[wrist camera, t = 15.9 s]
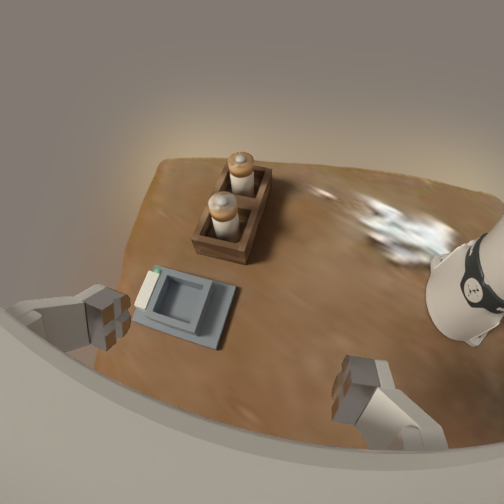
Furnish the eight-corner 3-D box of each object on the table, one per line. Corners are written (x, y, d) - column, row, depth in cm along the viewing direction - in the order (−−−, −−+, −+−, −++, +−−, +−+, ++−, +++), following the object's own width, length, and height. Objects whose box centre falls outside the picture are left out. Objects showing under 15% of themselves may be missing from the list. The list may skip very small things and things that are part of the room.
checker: (156, 267, 46) (150, 257, 43) (236, 288, 44) (234, 279, 41) (134, 321, 42) (125, 315, 39) (216, 350, 40) (212, 345, 36)
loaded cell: (250, 183, 53) (248, 147, 45) (258, 199, 51) (257, 162, 43) (229, 189, 53) (224, 153, 45) (236, 205, 51) (232, 169, 43)
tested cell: (236, 221, 49) (231, 185, 41) (243, 240, 47) (240, 206, 39) (213, 228, 48) (204, 194, 41) (219, 248, 47) (211, 215, 39)
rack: (229, 177, 55) (227, 161, 51) (271, 185, 54) (272, 168, 50) (196, 253, 47) (191, 239, 43) (245, 265, 46) (244, 251, 42)
